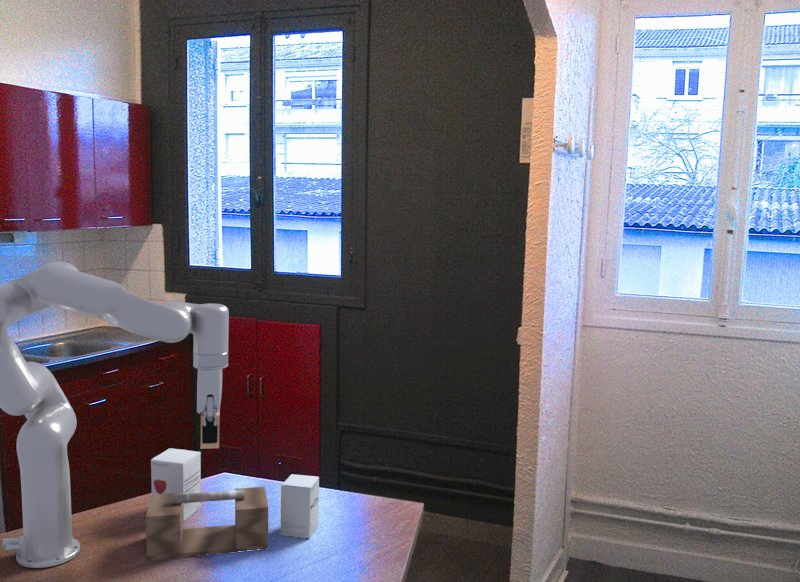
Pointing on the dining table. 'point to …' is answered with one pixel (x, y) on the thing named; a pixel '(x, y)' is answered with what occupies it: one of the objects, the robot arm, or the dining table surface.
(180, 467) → the supplement box
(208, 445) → the cord clip
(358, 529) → the dining table surface
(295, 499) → the supplement box
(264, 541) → the rod slider mechanism
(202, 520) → the dining table surface
